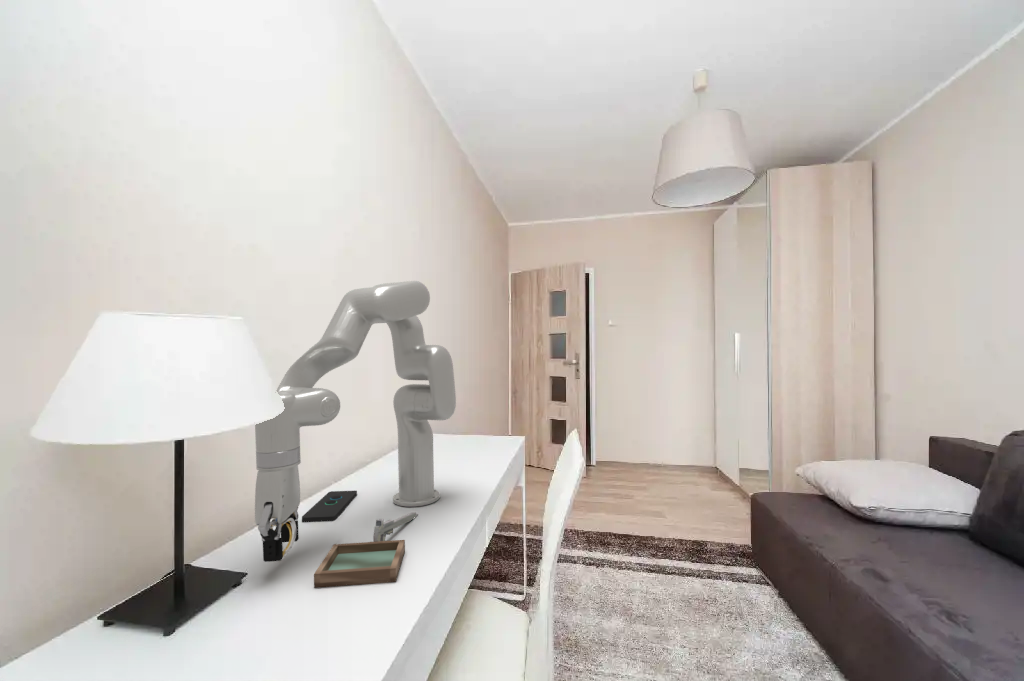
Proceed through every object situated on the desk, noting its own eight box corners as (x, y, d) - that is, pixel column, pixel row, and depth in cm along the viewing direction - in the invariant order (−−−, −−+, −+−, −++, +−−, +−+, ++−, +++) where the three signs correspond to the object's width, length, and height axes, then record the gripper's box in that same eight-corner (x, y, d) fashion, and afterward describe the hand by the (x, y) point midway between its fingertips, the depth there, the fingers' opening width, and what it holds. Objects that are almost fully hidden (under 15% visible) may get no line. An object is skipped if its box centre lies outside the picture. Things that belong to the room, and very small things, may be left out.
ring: (274, 567, 82) (272, 523, 82) (260, 565, 83) (258, 522, 83) (302, 549, 88) (301, 509, 88) (289, 548, 89) (288, 508, 89)
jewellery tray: (334, 556, 90) (333, 544, 90) (405, 551, 91) (404, 539, 91) (314, 588, 78) (313, 574, 78) (396, 581, 79) (395, 568, 79)
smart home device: (358, 489, 129) (334, 515, 109) (358, 495, 128) (334, 523, 109) (328, 490, 128) (299, 517, 108) (329, 496, 128) (300, 524, 108)
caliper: (378, 554, 91) (377, 522, 91) (373, 554, 91) (372, 522, 91) (418, 516, 111) (417, 490, 111) (414, 515, 111) (413, 490, 112)
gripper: (277, 448, 94) (280, 532, 94) (234, 472, 76) (238, 576, 76) (314, 446, 94) (317, 529, 95) (280, 469, 77) (284, 572, 77)
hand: (281, 549), depth 85 cm, fingers closed on ring, 7 cm apart
